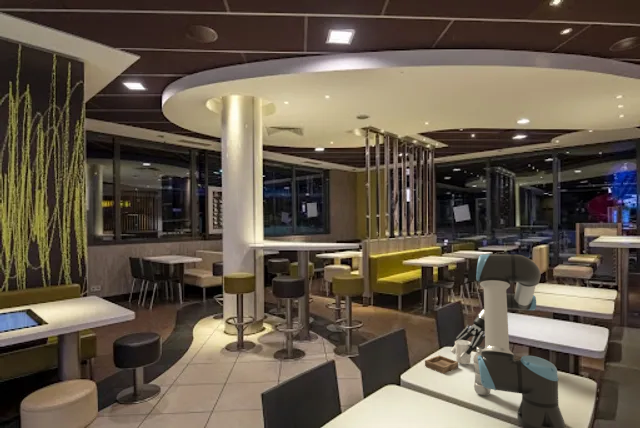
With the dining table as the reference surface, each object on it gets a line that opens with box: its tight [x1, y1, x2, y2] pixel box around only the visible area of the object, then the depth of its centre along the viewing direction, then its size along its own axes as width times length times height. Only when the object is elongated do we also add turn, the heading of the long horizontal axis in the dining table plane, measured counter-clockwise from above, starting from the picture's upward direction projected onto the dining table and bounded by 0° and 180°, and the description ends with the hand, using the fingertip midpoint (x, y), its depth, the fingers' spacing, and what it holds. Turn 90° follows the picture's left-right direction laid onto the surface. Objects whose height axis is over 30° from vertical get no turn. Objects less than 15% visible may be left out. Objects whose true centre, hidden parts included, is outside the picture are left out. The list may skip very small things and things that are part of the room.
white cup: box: [454, 339, 472, 365], centre depth 196 cm, size 8×8×10 cm
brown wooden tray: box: [424, 355, 459, 375], centre depth 193 cm, size 12×12×3 cm
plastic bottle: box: [472, 345, 492, 397], centre depth 164 cm, size 6×7×20 cm
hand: (457, 355), depth 196 cm, fingers closed on white cup, 8 cm apart
